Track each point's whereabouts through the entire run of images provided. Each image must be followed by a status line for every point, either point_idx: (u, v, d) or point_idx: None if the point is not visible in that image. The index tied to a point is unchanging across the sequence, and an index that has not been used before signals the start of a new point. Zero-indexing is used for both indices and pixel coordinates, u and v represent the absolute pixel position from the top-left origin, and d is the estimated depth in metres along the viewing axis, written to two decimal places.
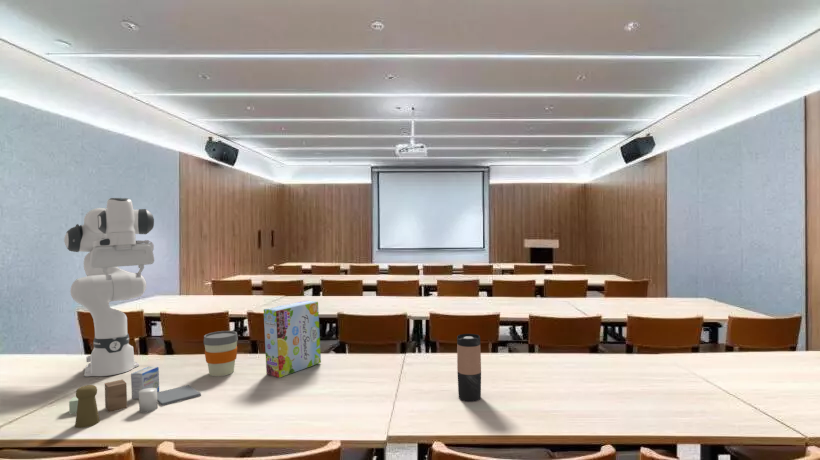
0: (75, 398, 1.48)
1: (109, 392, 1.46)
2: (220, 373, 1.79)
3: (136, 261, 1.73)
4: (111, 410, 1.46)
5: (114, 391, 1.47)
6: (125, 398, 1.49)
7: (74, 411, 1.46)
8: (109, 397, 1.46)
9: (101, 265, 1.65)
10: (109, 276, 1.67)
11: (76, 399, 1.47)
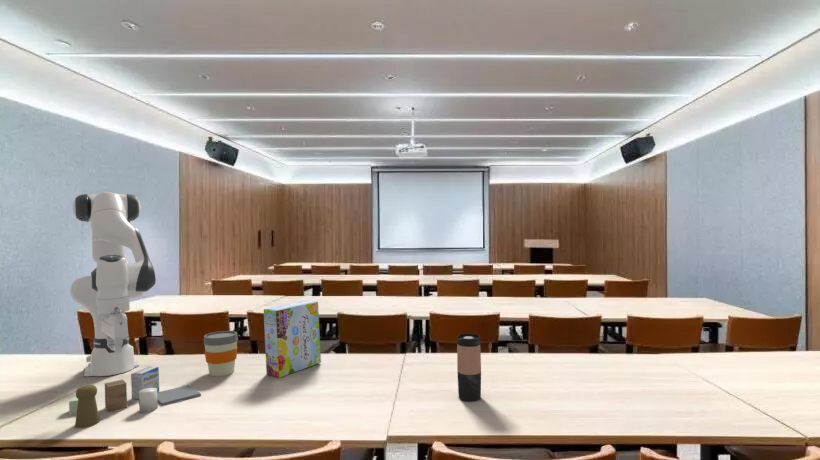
0: (75, 398, 1.48)
1: (109, 392, 1.46)
2: (220, 373, 1.79)
3: (110, 333, 1.45)
4: (111, 410, 1.46)
5: (114, 391, 1.47)
6: (125, 398, 1.49)
7: (74, 411, 1.46)
8: (109, 397, 1.46)
9: (102, 330, 1.53)
10: (108, 343, 1.52)
11: (76, 399, 1.47)
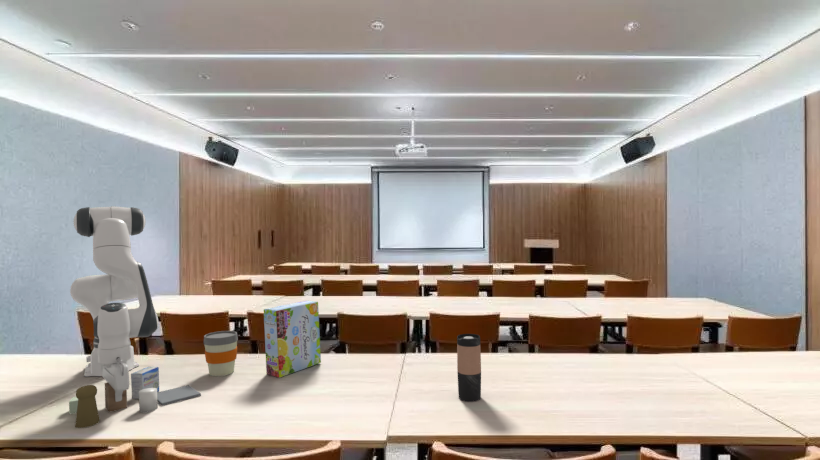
0: (75, 398, 1.48)
1: (109, 392, 1.46)
2: (220, 373, 1.79)
3: (111, 383, 1.45)
4: (111, 410, 1.46)
5: (114, 391, 1.47)
6: (125, 398, 1.49)
7: (74, 411, 1.46)
8: (109, 397, 1.46)
9: (104, 377, 1.53)
10: None
11: (76, 399, 1.47)
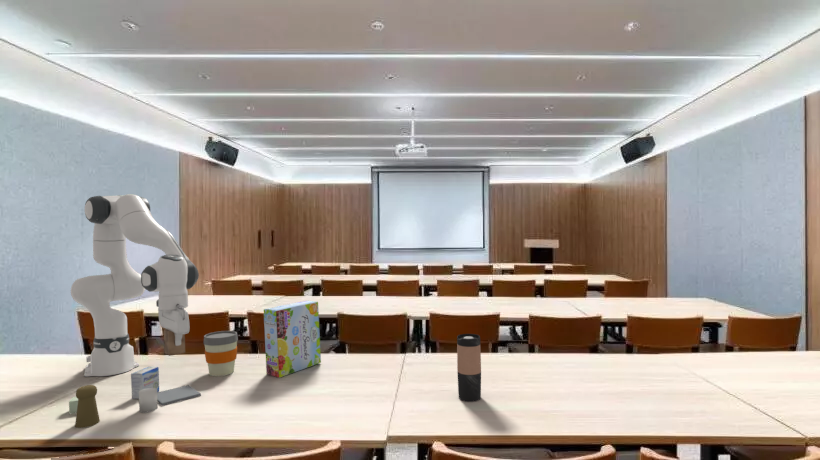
0: (75, 398, 1.48)
1: (169, 336, 1.55)
2: (220, 373, 1.79)
3: (172, 328, 1.55)
4: (171, 353, 1.56)
5: (174, 336, 1.56)
6: (183, 343, 1.58)
7: (74, 411, 1.46)
8: (169, 341, 1.55)
9: (162, 325, 1.63)
10: None
11: (76, 399, 1.47)
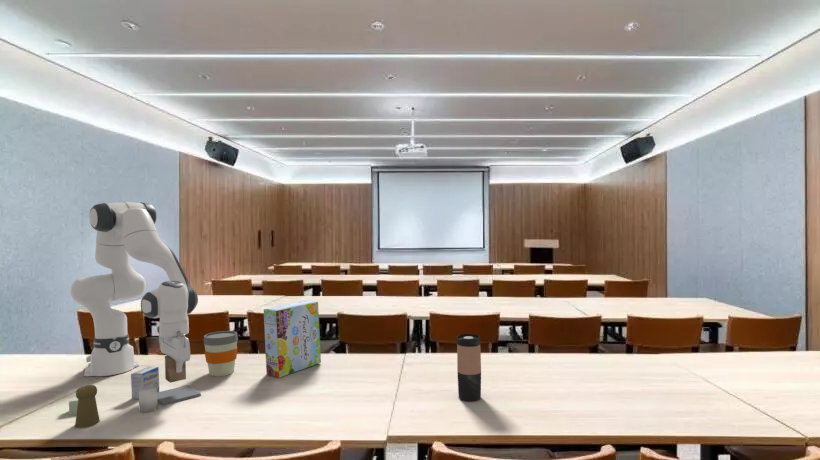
0: (75, 398, 1.48)
1: (170, 363, 1.55)
2: (220, 373, 1.79)
3: (172, 355, 1.55)
4: (172, 380, 1.56)
5: (175, 363, 1.56)
6: (184, 370, 1.58)
7: (74, 411, 1.46)
8: (170, 368, 1.55)
9: (163, 351, 1.63)
10: None
11: (76, 399, 1.47)
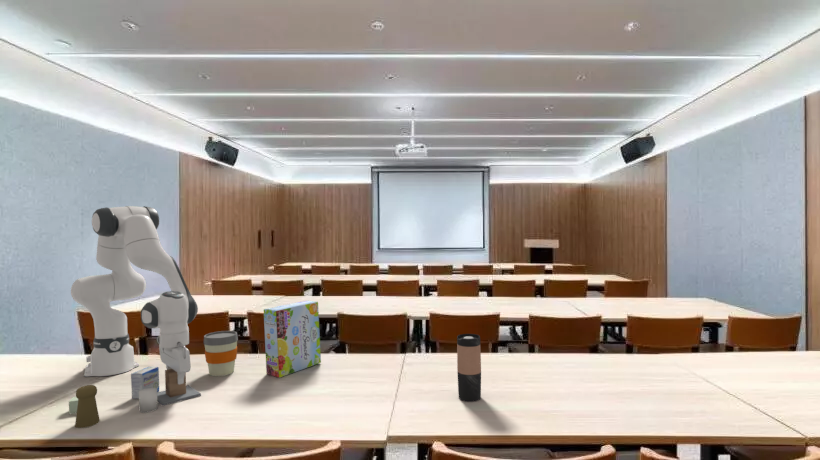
0: (75, 398, 1.48)
1: (170, 378, 1.56)
2: (220, 373, 1.79)
3: (173, 366, 1.55)
4: (172, 395, 1.56)
5: (175, 377, 1.57)
6: (184, 384, 1.59)
7: (74, 411, 1.46)
8: (170, 383, 1.56)
9: (163, 361, 1.63)
10: None
11: (76, 399, 1.47)
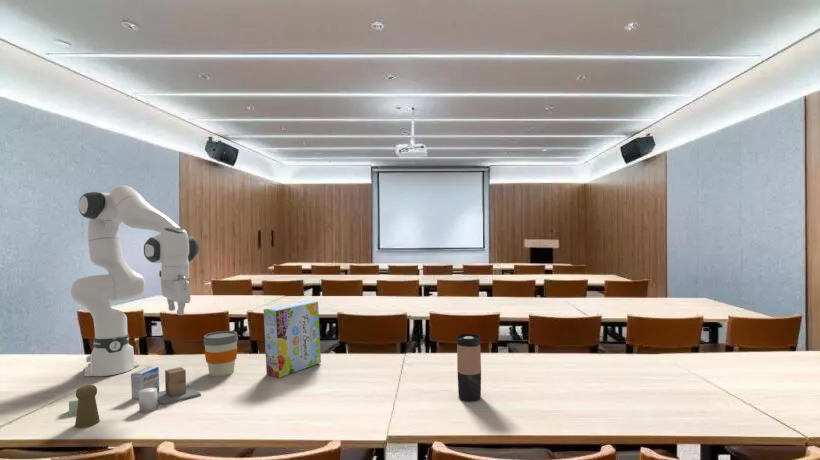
0: (75, 398, 1.48)
1: (170, 378, 1.56)
2: (220, 373, 1.79)
3: (173, 297, 1.61)
4: (172, 395, 1.56)
5: (175, 377, 1.57)
6: (184, 384, 1.59)
7: (74, 411, 1.46)
8: (170, 383, 1.56)
9: (164, 295, 1.69)
10: (169, 307, 1.68)
11: (76, 399, 1.47)
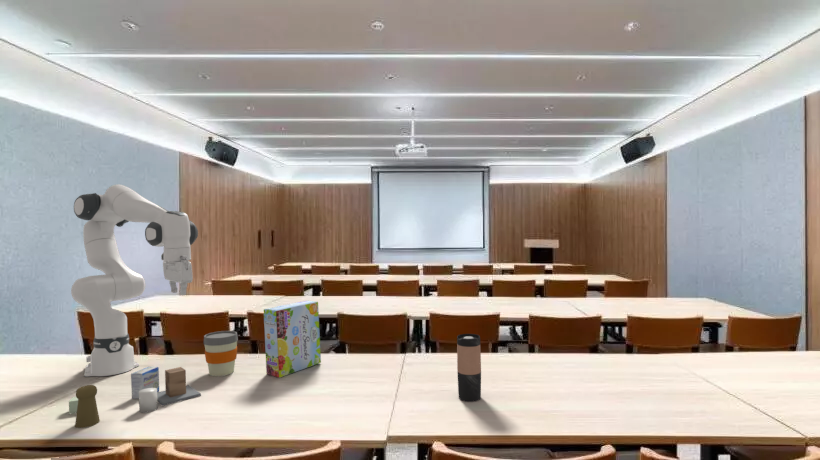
0: (75, 398, 1.48)
1: (170, 378, 1.56)
2: (220, 373, 1.79)
3: (176, 278, 1.66)
4: (172, 395, 1.56)
5: (175, 377, 1.57)
6: (184, 384, 1.59)
7: (74, 411, 1.46)
8: (170, 383, 1.56)
9: (166, 278, 1.74)
10: (171, 289, 1.73)
11: (76, 399, 1.47)
